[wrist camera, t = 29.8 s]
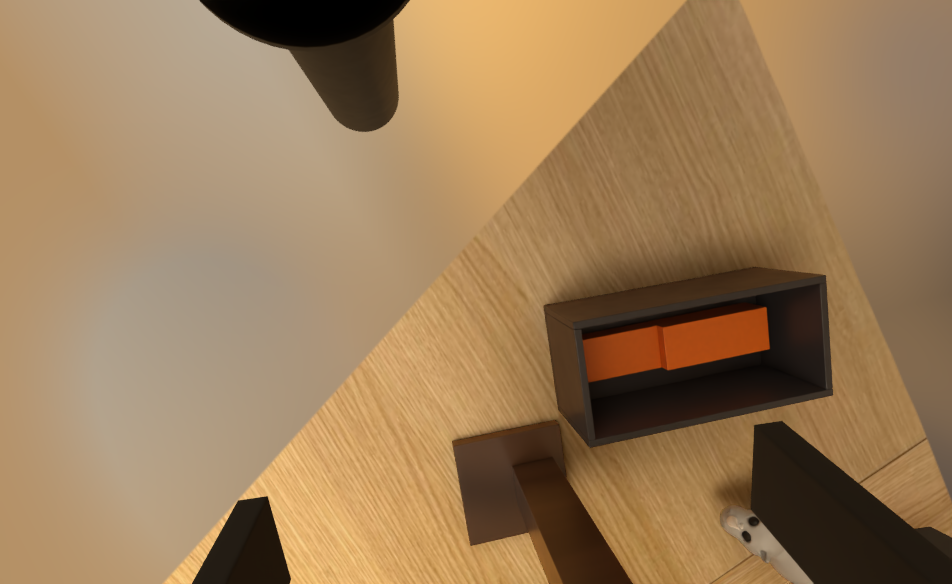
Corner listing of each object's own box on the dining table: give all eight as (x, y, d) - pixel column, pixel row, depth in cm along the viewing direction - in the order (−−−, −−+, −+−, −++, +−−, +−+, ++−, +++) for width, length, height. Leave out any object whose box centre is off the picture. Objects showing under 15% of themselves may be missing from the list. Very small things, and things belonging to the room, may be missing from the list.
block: (565, 337, 47) (575, 344, 44) (745, 302, 49) (766, 306, 46) (571, 378, 48) (582, 388, 45) (748, 342, 50) (770, 349, 47)
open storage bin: (543, 305, 47) (572, 322, 39) (754, 266, 50) (826, 274, 41) (558, 409, 49) (589, 448, 40) (762, 367, 51) (833, 395, 43)
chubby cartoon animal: (715, 461, 52) (775, 506, 43) (812, 495, 54) (887, 545, 45) (687, 525, 52) (740, 582, 44) (783, 557, 54) (852, 617, 46)
